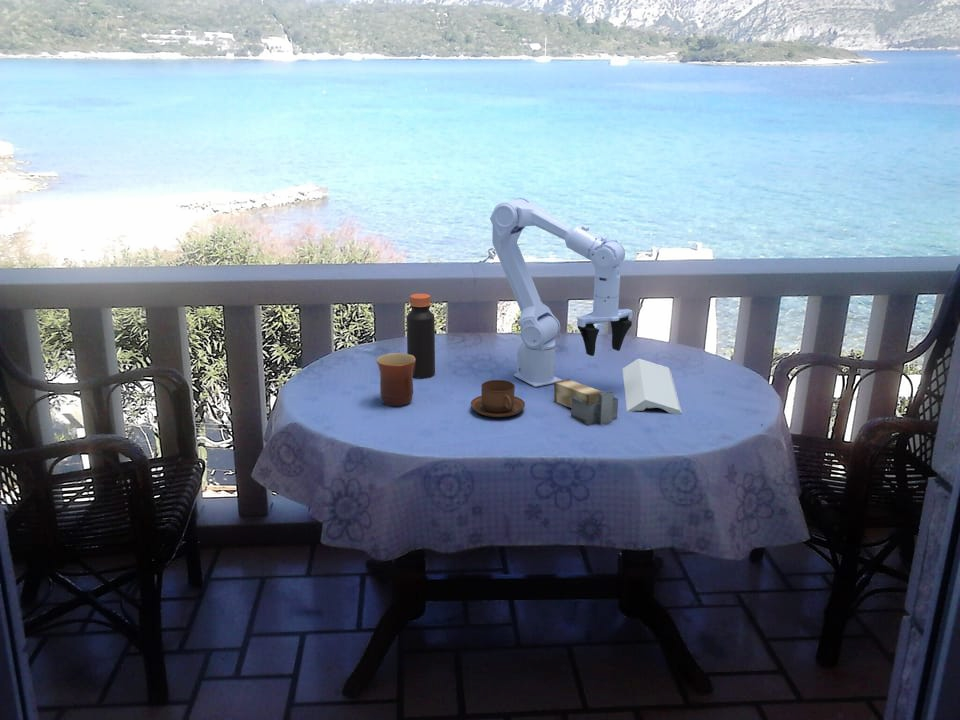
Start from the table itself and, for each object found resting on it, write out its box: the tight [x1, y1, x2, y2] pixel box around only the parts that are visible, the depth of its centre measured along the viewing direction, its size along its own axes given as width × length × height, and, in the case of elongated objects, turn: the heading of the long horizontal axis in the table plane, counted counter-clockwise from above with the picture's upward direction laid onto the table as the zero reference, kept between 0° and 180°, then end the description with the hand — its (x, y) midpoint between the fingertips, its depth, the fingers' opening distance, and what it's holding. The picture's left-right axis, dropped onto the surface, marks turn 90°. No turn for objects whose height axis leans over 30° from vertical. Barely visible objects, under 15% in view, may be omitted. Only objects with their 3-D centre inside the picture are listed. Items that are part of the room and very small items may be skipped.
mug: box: [376, 352, 416, 407], centre depth 201 cm, size 12×9×10 cm
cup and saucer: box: [470, 379, 526, 418], centre depth 196 cm, size 12×12×6 cm
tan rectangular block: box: [553, 378, 605, 408], centre depth 198 cm, size 13×4×5 cm, turn 31°
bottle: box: [406, 293, 436, 379], centre depth 216 cm, size 7×7×20 cm
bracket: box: [570, 390, 619, 426], centre depth 192 cm, size 7×8×7 cm
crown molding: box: [622, 358, 683, 415], centre depth 210 cm, size 29×12×4 cm, turn 174°
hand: (603, 352), depth 205 cm, fingers open, 7 cm apart
